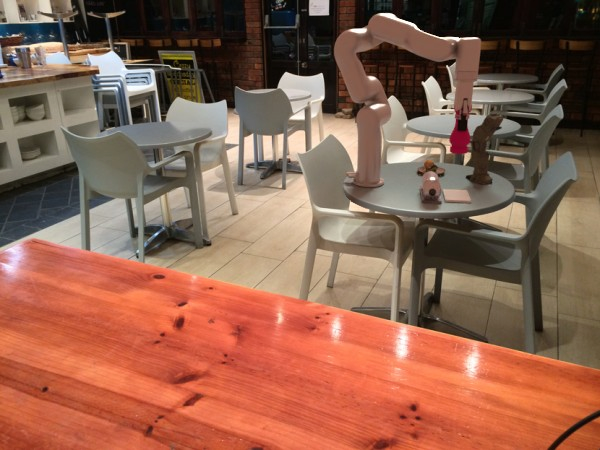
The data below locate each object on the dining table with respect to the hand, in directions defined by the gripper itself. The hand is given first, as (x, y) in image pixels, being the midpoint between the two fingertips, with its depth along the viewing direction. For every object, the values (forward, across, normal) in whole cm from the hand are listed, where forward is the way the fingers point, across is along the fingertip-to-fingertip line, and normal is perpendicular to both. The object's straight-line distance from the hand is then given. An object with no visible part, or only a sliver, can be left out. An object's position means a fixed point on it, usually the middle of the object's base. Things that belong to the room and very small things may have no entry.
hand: (460, 128), depth 174 cm
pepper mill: (+9, 0, 0) cm, 9 cm away
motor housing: (+26, 0, -9) cm, 27 cm away
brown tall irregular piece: (+26, -21, +12) cm, 36 cm away
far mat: (+26, 0, +1) cm, 26 cm away
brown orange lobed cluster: (+26, -30, -7) cm, 40 cm away
